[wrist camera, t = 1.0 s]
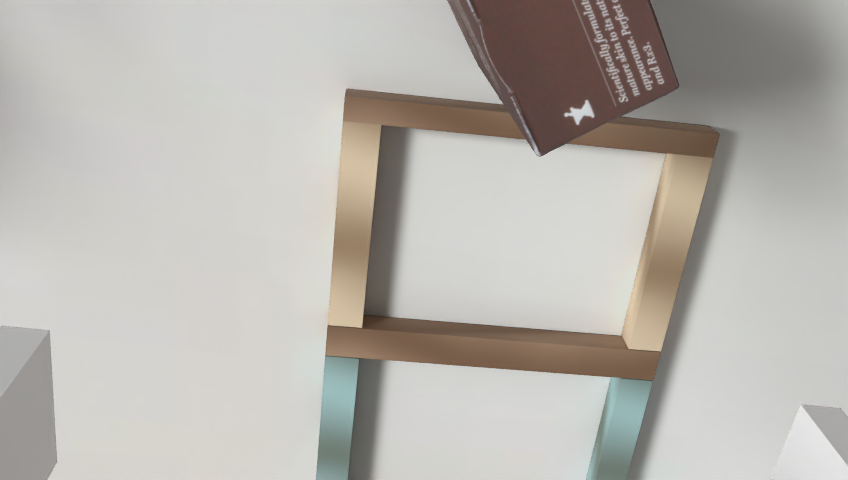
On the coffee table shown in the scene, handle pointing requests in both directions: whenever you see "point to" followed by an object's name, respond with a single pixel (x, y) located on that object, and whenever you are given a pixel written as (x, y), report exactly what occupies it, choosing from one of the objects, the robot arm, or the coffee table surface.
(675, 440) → the coffee table surface
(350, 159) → the two-pane wooden frame
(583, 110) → the box
